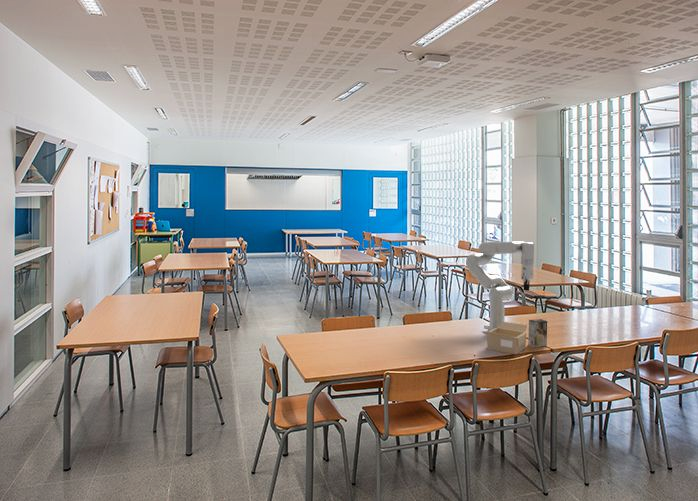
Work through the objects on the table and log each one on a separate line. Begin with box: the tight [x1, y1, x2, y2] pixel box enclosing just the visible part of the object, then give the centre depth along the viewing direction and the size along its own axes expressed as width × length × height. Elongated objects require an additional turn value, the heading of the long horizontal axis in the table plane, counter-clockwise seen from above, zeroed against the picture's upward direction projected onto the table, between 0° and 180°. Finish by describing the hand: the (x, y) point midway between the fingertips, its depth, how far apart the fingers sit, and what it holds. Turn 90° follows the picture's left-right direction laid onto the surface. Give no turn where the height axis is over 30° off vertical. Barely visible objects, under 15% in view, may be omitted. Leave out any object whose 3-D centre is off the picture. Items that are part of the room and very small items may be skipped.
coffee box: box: [527, 318, 548, 348], centre depth 310 cm, size 9×6×16 cm
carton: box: [486, 328, 527, 355], centre depth 304 cm, size 19×16×10 cm
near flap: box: [485, 330, 515, 338], centre depth 295 cm, size 16×5×1 cm, turn 52°
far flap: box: [499, 321, 528, 332], centre depth 312 cm, size 16×5×1 cm
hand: (526, 290), depth 318 cm, fingers closed
